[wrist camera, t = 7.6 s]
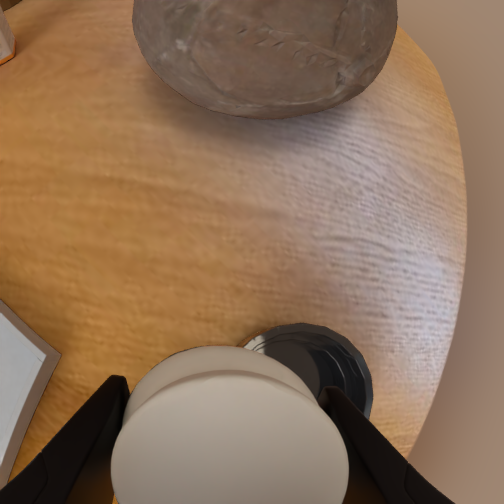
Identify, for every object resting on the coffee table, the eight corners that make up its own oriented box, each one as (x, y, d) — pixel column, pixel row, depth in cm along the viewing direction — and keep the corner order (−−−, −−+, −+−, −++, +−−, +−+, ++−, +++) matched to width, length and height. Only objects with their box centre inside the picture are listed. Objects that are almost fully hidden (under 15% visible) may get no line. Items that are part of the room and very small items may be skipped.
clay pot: (112, 141, 24) (62, -13, 9) (178, 12, 30) (180, -91, 15) (361, 183, 26) (467, 59, 11) (349, 43, 32) (393, -51, 17)
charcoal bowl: (305, 468, 19) (326, 492, 14) (190, 418, 19) (185, 436, 15) (363, 361, 21) (395, 363, 17) (255, 304, 22) (267, 294, 17)
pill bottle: (253, 328, 15) (324, 297, 6) (292, 432, 14) (398, 521, 5) (142, 364, 14) (42, 386, 5) (184, 468, 13) (163, 599, 3)
